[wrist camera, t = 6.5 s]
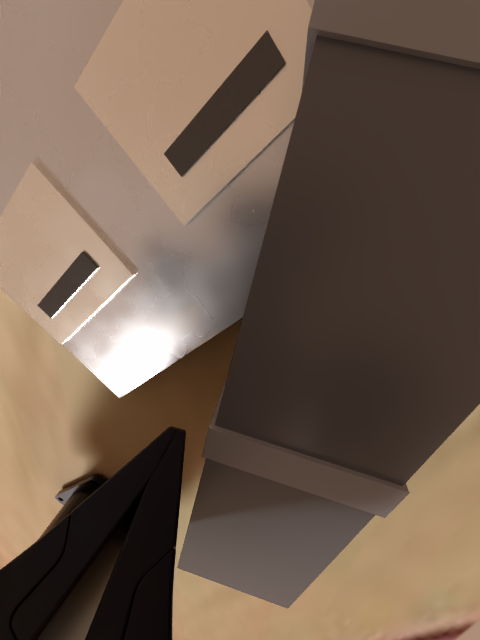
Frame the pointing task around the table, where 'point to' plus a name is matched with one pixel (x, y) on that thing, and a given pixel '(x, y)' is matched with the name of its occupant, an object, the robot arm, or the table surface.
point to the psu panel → (141, 167)
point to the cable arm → (351, 299)
